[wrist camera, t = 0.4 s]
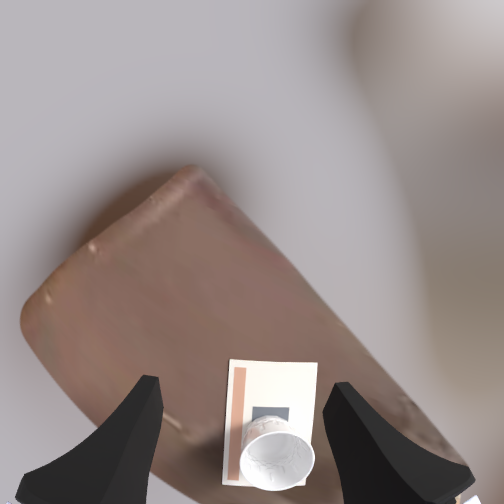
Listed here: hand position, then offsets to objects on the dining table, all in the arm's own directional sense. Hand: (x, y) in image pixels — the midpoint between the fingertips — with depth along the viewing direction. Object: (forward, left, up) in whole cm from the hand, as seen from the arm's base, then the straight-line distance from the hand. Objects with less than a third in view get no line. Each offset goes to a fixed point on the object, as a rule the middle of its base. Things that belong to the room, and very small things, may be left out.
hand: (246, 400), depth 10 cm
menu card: (-10, -4, -27) cm, 29 cm away
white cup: (-11, -4, -27) cm, 29 cm away
